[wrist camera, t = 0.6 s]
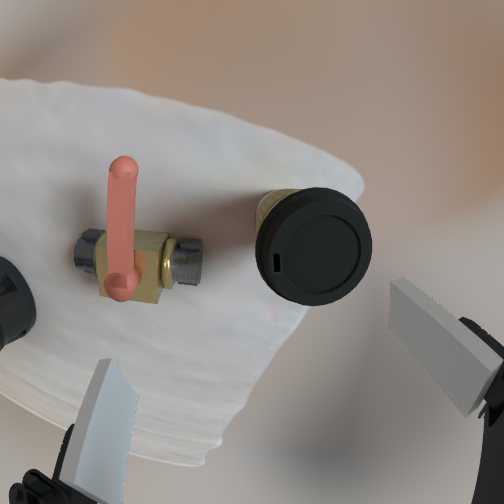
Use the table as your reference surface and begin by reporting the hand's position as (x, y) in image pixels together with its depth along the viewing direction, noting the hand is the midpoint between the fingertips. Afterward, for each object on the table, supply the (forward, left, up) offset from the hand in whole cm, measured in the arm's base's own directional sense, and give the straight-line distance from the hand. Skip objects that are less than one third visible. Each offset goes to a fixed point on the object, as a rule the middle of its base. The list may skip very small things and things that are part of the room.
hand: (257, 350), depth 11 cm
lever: (-11, 0, -17) cm, 20 cm away
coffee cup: (+6, +2, -24) cm, 25 cm away
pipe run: (-11, -5, -24) cm, 27 cm away
